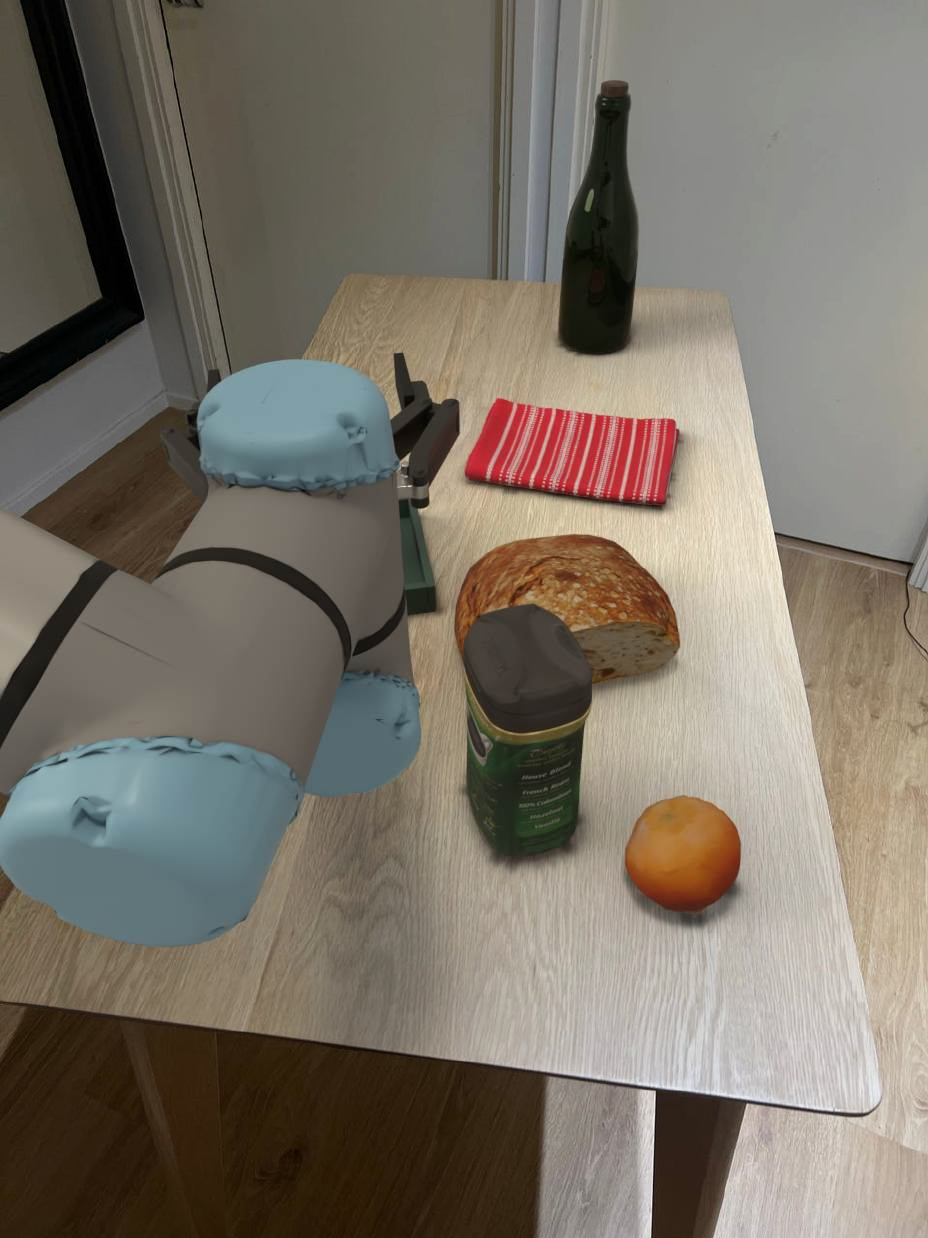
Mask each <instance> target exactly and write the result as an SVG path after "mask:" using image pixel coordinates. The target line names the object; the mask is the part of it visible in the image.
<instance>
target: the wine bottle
mask: <svg viewBox="0 0 928 1238" xmlns="http://www.w3.org/2000/svg"><path fill="white" fill-rule="evenodd" d="M629 87H630V86H629V82H627V81H625V80H619V79H611V80H605V81H602V82H601V84H600V92H598V94H596V98H595V101H594V102H595V103H594V110H595V112H594V113H595V114H594V115H595V116H594V125H593V136H592V143H591V151H590V155H589V160H588V164H587V167H586V171H585V174H584V176H583V180H582V181H581V184H580V186H579V189H578V191H577V194H576V195H575V197H574V201H573V203H572V206H571V208H570V211H569V215H568V220H567V223H566V227H565V235H564V244H563V252H562V253H563V255H562V267H561V280H560V292H559V294H560V295H559V307H558V322H557V335H558V339H559V340H560V342H561V344H563V345H564V346H566V347H567V348H568V349H569V348H570V349H571V350H574V351H576V352H579V353H580V352H581V353H586V354H604V353H611V352H614V351H617V350H620V349H621V348H623V347H624V346H625V345H626V344H628V342H629V340H630V337H631V331H632V322H633V321H632V320H633V312H634V304H635V303H634V302H635V294H636V293H635V291H636V279H637V271H638V270H637V269H638V258H639V247H640V246H639V243H640V218H639V210H638V205H637V202H636V198H635V193H634V190H633V186H632V181H631V178H630V177H631V176H630V170H629V162H628V161H629V159H628V143H629V142H628V141H629V125H630V124H629V123H630V114H631V110H632V95H631V94H630V93H629Z"/></svg>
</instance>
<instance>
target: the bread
mask: <svg viewBox="0 0 928 1238" xmlns="http://www.w3.org/2000/svg"><path fill="white" fill-rule="evenodd" d="M670 599H671V598H670V596H669V594H668V593H667V592H666V591H665V590H664V588H663V587H662V586H661V585H660V584H659V582H658V581H657V579H656V578H655V577H654V576H653V575H652V574H651V573H650V572H649V571H648V570H647V569H646V568H645V567H643V566H642V565H641V563H640V562H638V561H637V559H636V558H635V557H634V556H633V555H632V554H631V553H630V551H628V550H626V548H624V547H623V546H621V545H620V544H619V543H618V542H616V541H614V540H611V539H608V538H605V537H602V536H597V535H592V534H579V533H570V534H560V535H549V536H540V537H539V536H538V537H532V538H531V537H530V538H525V539H524V538H523V539H516V540H512V541H509V542H506V543H503V544H500V545H497V546H496V547H494V548H493V549H492V550H490V551H488V552H486V553H485V554H484V555H482V556H481V557H480V558H479V559H478V560H477V561H475V562H474V563H473V564H472V565H471V566H470V567H469V568H468V570H467V572H466V575H465V577H464V579H463V582H462V584H461V587H460V590H459V593H458V597H457V600H456V604H455V611H454V623H453V624H454V626H453V627H454V628H453V631H454V636H455V642H456V646H457V649H458V652H459V654H460V657H461V661H463V654H464V644H465V638H466V635H467V633H468V631H469V629H470V627H471V626H472V625H473V624H474V622H475V621H476V620H478V619H479V618H480V616H481V615H482V614H485V613H488V612H491V611H495V610H498V609H503V608H507V607H512V606H518V605H524V604H531V603H534V604H536V605H537V606H539V607H542V608H544V609H546V610H548V611H550V612H552V613H553V614H555V615H556V616H558V617H559V618H560V619H561V620H562V621H564V623H565V624H566V625H567V626H568V628H569V630H570V631H571V632H572V634H573V635H574V637H575V638H576V640H577V641H578V643H579V644H580V646H581V648H582V650H583V652H584V654H585V656H586V658H587V660H588V662H589V664H590V666H591V669H592V685H595V684H599V683H603V682H607V681H611V680H612V681H613V680H615V679H620V678H627V677H634V676H635V677H636V676H640V675H644V674H645V675H646V674H649V673H652V672H654V671H656V670H658V669H661V668H662V667H665V666H666V665H667V664H669V663H670V662H671V661H672V660H673V659H674V658H675V656H676V654H678V652H679V649H680V648H681V637H680V632H679V626H678V620H677V612H676V611H675V609H674V606H673V605H672V602H671V600H670Z"/></svg>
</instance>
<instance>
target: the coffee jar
mask: <svg viewBox="0 0 928 1238" xmlns="http://www.w3.org/2000/svg"><path fill="white" fill-rule="evenodd" d="M462 666H463V679H464V686H465V687H464V688H465V699H466V701H465V702H466V760H465V761H466V763H465V765H466V766H465V767H466V769H465V770H466V771H465V780H466V781H465V783H466V792H467V797H468V801H469V805H470V808H471V810H472V811H471V812H472V813H473V816H474V820H475V821H476V824H477V826H478V829H479V830H480V832H481V834H482V836H483V837H484V839H485V841H486V842H487V844H488V845H489V847H490V848H491V849H493V851H495V852H496V853H497V854H499V855H502V856H504V857H508V858H515V859H517V858H518V859H521V858H528V857H529V858H530V857H534V856H539V855H542V854H546V853H548V852H551V851H554V850H557V849H558V848H560V847H562V846H564V845H566V844H567V843H568V842H570V840H571V839H572V838H573V837H574V835H575V833H576V831H577V829H578V821H579V812H580V796H581V776H582V763H583V762H582V761H583V750H584V739H585V737H584V736H585V728H586V727H585V726H586V721H587V719H588V718H589V715H590V713H591V709H592V705H593V684H592V669H591V666H590V664H589V662H588V660H587V658H586V656H585V654H584V652H583V650H582V648H581V646H580V644H579V643H578V641H577V640H576V638H575V637H574V635H573V634H572V632H571V631H570V630H569V628H568V626H567V625H566V624H565V623H564V621H562V620H561V619H560V618H559V617H558V616H556V615H555V614H553V613H552V612H550V611H548V610H546V609H544V608H542V607H539V606H537V605H536V604H534V603H531V604H524V605H518V606H512V607H507V608H503V609H498V610H495V611H491V612H488V613H485V614H482V615H481V616H480V618H479V619H478V620H476V621H475V622H474V624H473V625H472V626H471V627H470V629H469V631H468V633H467V635H466V638H465V644H464V654H463V660H462Z"/></svg>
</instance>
